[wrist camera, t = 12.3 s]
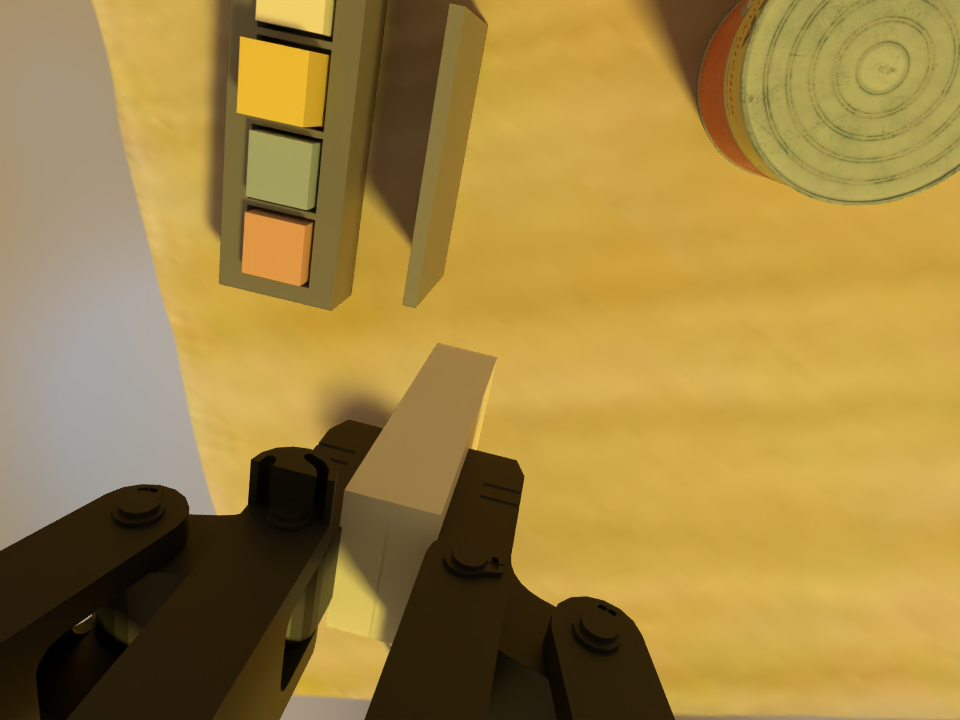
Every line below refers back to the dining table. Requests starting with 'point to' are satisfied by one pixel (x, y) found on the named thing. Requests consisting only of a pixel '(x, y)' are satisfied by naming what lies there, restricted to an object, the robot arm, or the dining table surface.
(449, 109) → the placard
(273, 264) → the key terracotta
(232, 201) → the frame
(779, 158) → the canned food
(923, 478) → the dining table surface
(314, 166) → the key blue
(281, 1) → the key ivory
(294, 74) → the key mustard
